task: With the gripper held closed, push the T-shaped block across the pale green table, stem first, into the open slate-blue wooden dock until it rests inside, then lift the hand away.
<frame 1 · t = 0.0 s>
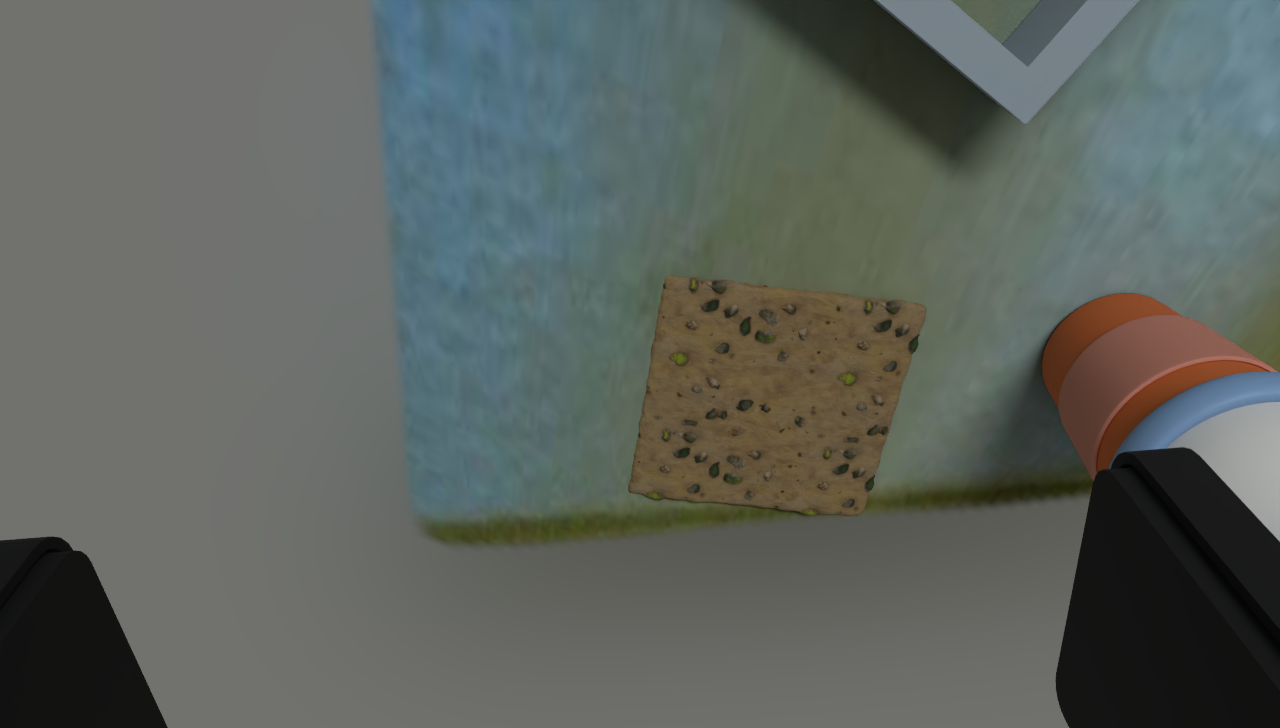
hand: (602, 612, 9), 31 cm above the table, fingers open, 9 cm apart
cookie: (767, 396, 46), on the table
cup with straw: (1105, 350, 44), on the table
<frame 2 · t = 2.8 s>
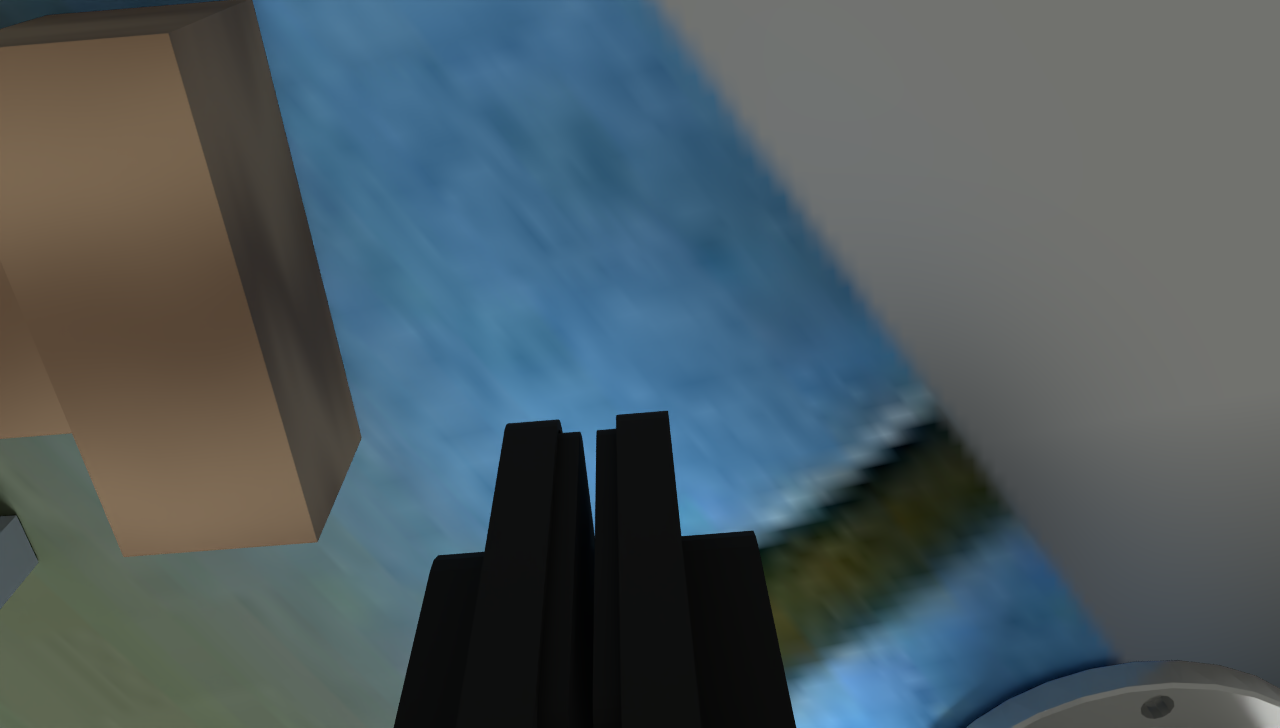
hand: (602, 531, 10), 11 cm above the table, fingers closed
t block: (221, 249, 21), on the table
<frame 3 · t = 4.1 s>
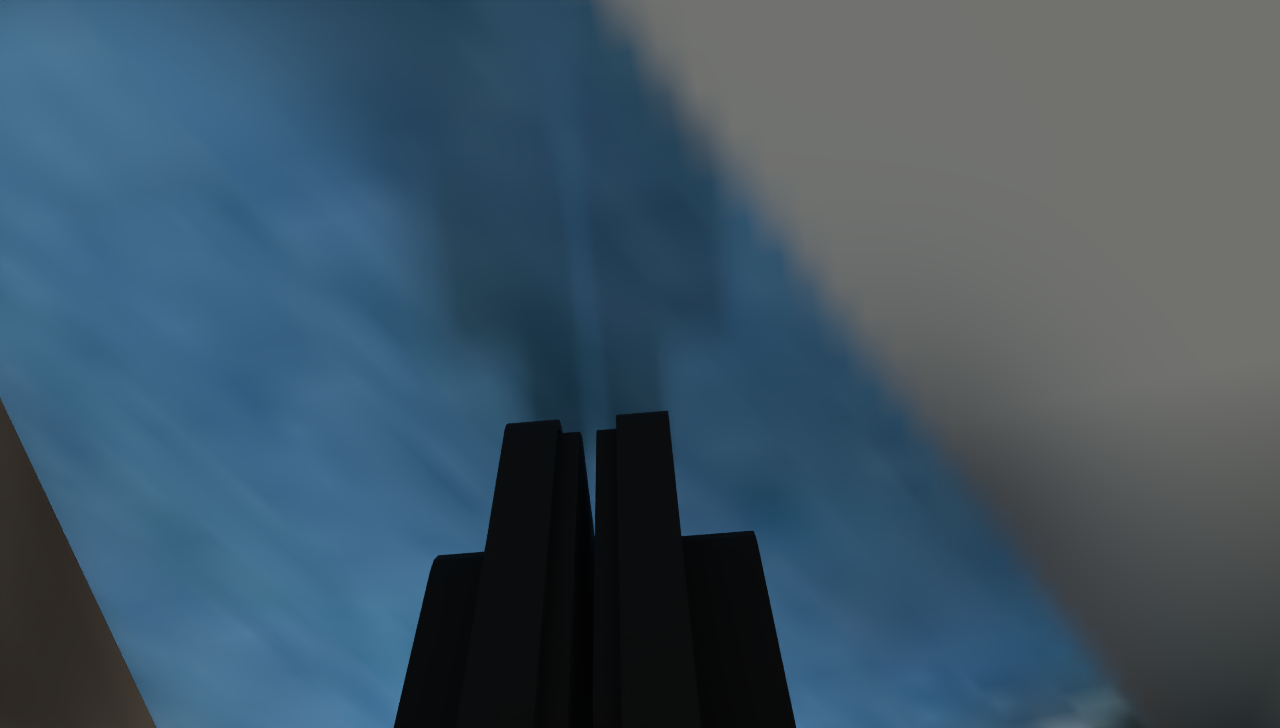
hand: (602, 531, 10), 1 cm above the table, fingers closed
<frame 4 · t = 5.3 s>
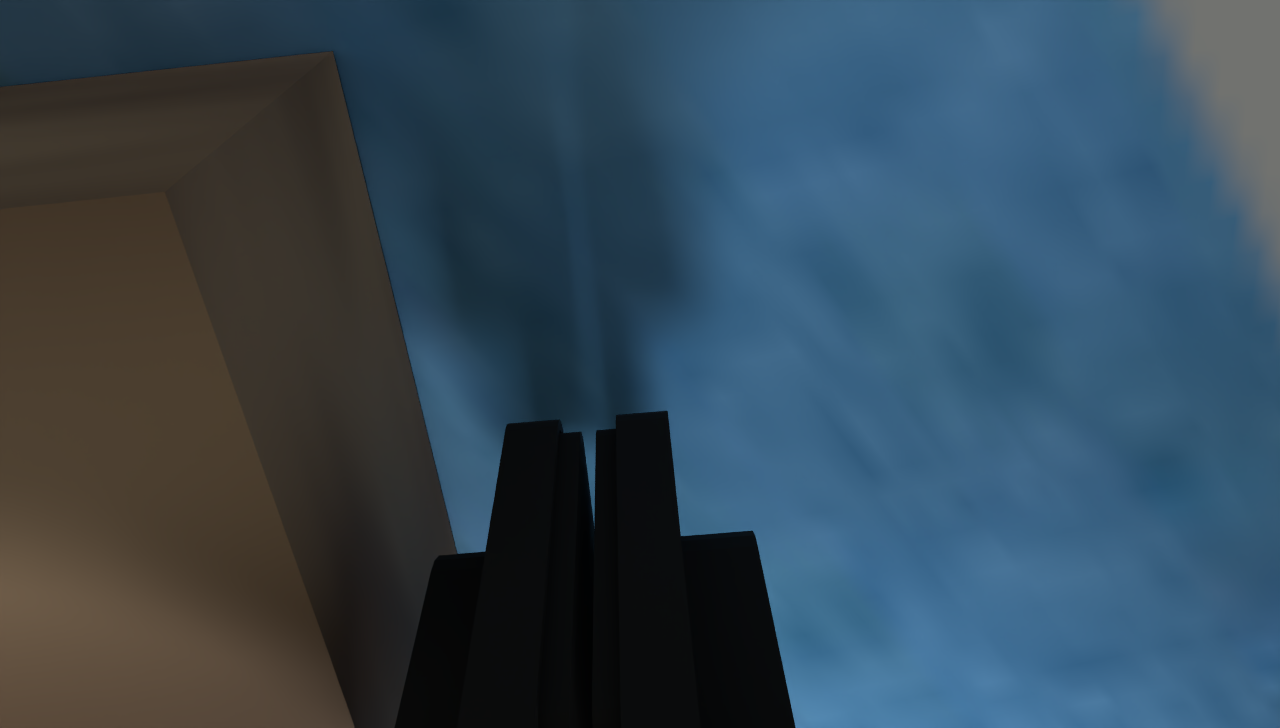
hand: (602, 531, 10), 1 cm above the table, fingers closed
t block: (274, 492, 12), on the table, touching gripper
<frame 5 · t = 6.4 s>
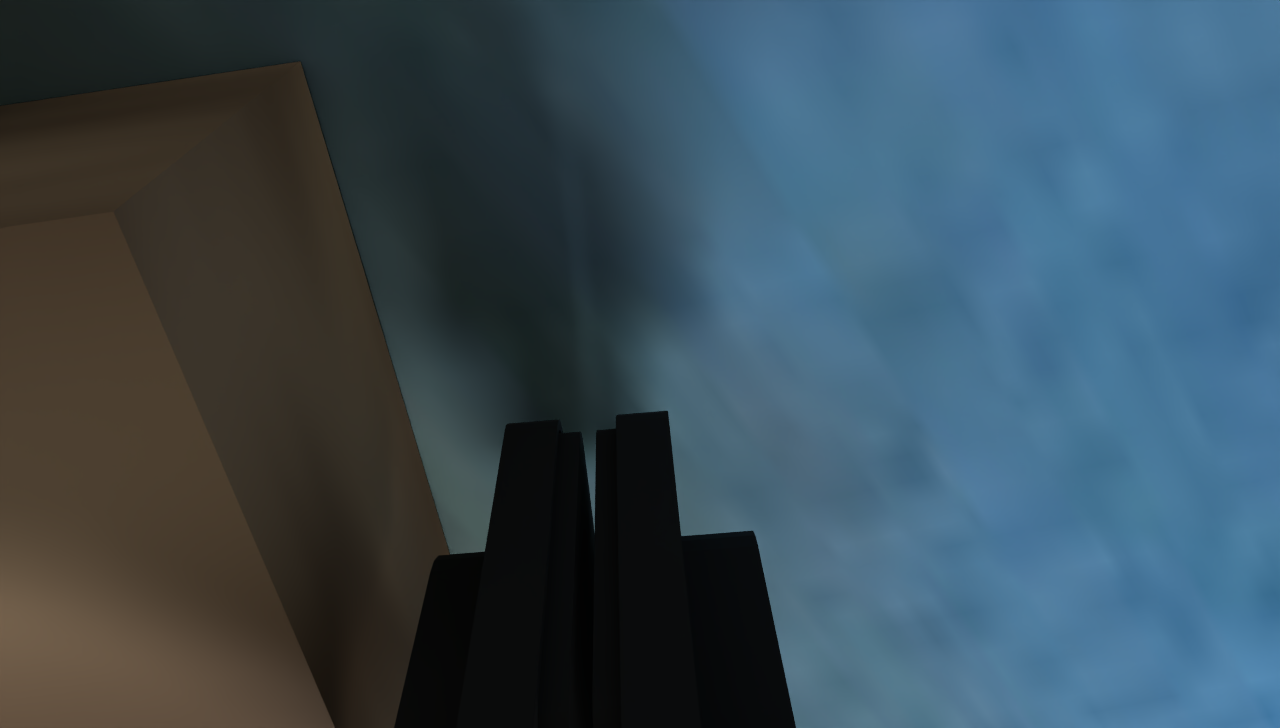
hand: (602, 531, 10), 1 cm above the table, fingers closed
t block: (265, 505, 12), on the table, touching gripper
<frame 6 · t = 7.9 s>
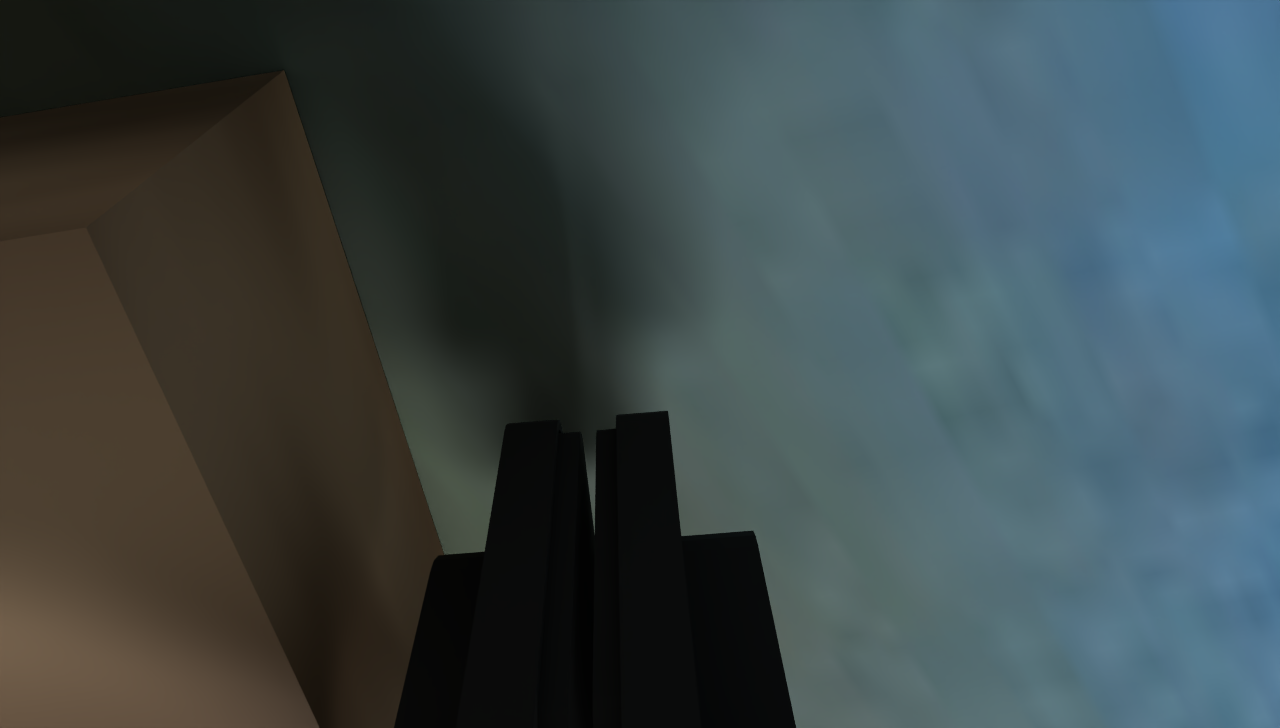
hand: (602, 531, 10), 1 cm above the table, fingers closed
t block: (260, 515, 12), on the table, touching gripper
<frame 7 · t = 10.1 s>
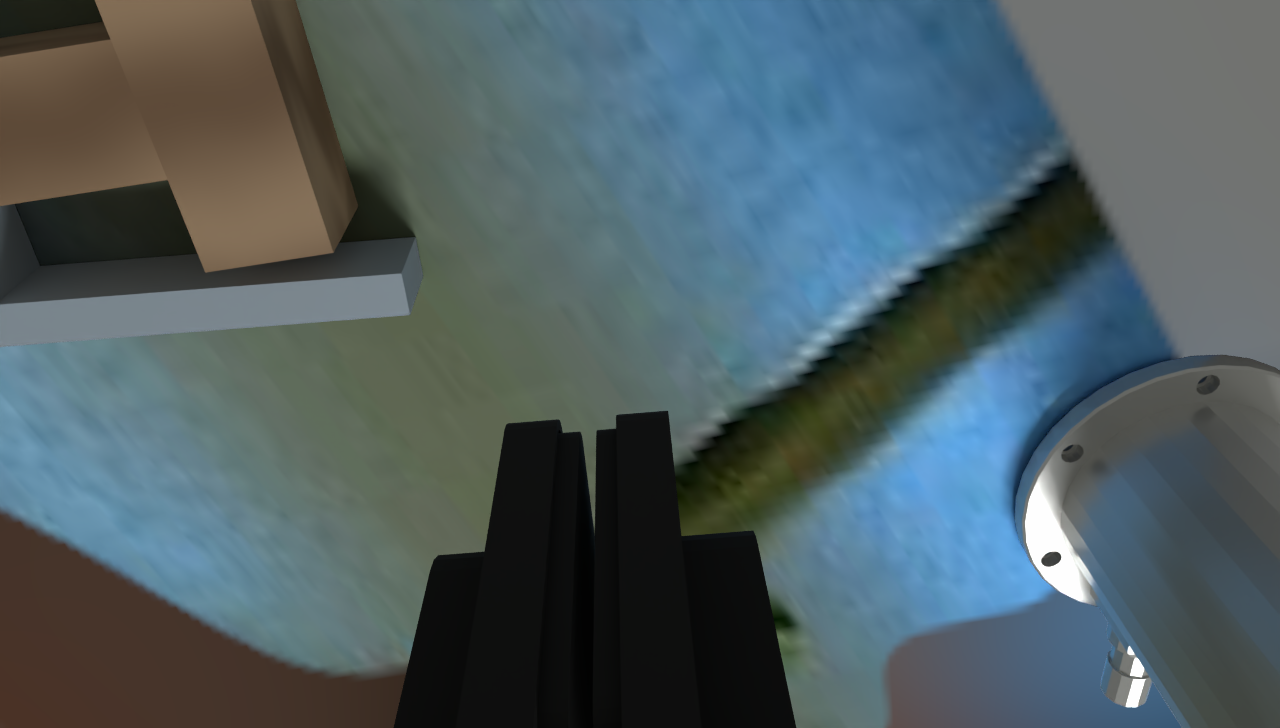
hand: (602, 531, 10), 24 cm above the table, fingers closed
dock: (154, 61, 30), on the table
t block: (251, 67, 31), on the table
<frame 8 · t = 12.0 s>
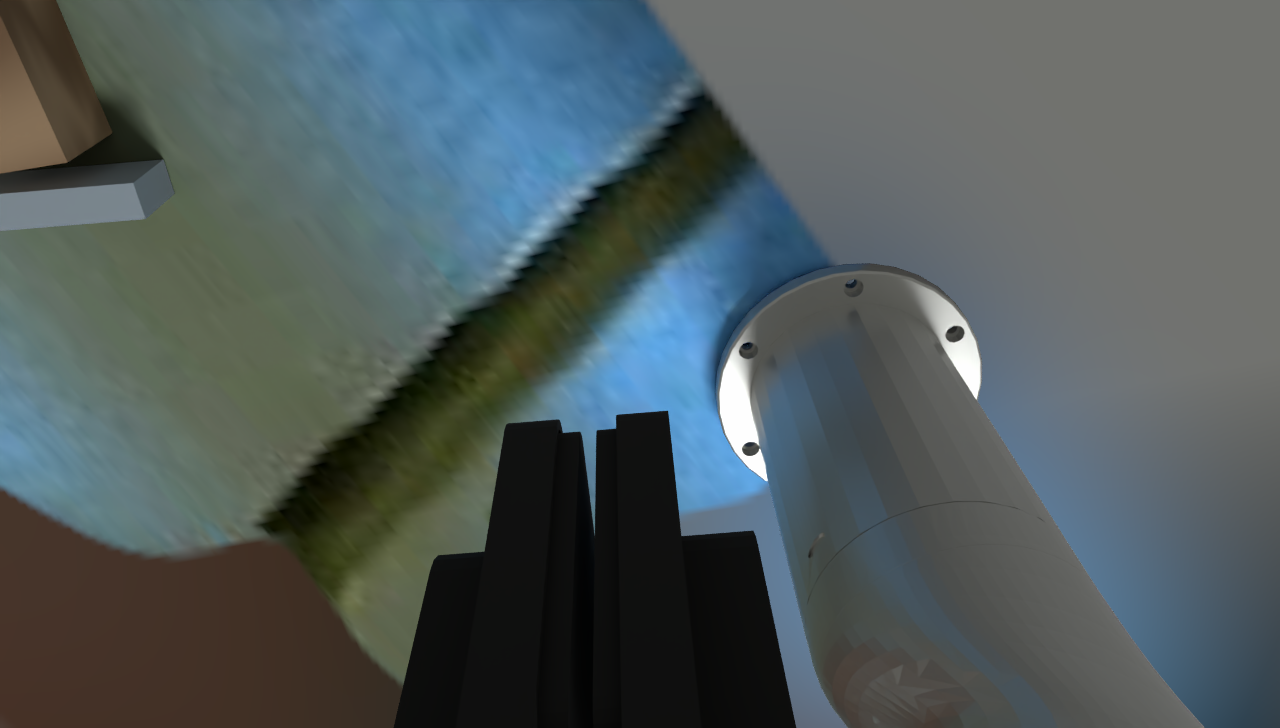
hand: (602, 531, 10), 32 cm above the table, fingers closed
t block: (9, 15, 38), on the table
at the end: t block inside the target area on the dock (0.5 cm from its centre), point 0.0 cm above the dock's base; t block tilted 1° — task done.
